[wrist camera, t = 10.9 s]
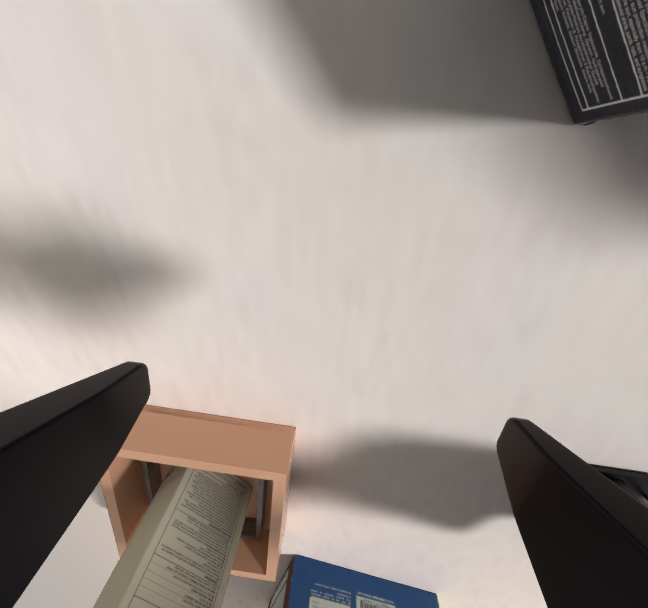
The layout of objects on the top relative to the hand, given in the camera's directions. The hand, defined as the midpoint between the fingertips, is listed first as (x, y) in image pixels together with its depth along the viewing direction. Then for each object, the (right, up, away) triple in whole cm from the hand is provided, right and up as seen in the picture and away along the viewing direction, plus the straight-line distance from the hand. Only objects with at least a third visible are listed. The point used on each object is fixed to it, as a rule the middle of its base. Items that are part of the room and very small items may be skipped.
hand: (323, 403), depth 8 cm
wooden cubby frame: (-9, -12, +19) cm, 25 cm away
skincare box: (-9, -12, +19) cm, 24 cm away
